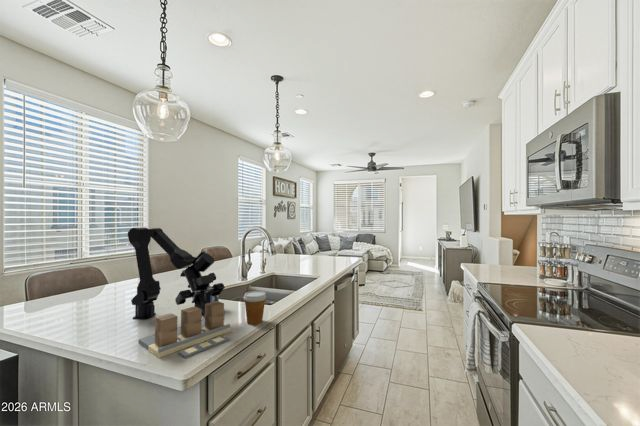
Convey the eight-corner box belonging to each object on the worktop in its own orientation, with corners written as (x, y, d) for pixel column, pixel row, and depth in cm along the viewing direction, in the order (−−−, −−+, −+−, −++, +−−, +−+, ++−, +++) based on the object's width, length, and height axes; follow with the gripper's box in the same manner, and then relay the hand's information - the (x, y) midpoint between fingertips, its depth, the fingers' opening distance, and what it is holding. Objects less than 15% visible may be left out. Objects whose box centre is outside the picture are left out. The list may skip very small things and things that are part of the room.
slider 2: (204, 327, 108) (205, 303, 108) (216, 323, 112) (216, 300, 112) (212, 330, 105) (212, 306, 105) (223, 326, 109) (224, 303, 109)
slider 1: (154, 343, 94) (155, 317, 94) (170, 338, 98) (170, 312, 98) (161, 348, 91) (161, 320, 91) (177, 342, 95) (177, 316, 95)
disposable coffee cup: (245, 318, 123) (245, 290, 123) (267, 317, 124) (267, 290, 124) (241, 326, 114) (241, 297, 114) (264, 326, 114) (265, 296, 115)
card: (178, 353, 91) (178, 351, 91) (222, 337, 104) (222, 335, 104) (185, 358, 88) (185, 355, 88) (229, 340, 101) (229, 338, 101)
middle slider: (180, 334, 101) (181, 309, 101) (194, 330, 105) (194, 306, 105) (187, 338, 98) (188, 312, 98) (201, 333, 102) (201, 309, 102)
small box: (206, 315, 126) (206, 292, 126) (193, 314, 127) (193, 291, 127) (219, 308, 136) (219, 286, 136) (207, 307, 138) (207, 285, 138)
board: (138, 343, 98) (138, 335, 98) (207, 321, 119) (207, 315, 119) (159, 357, 88) (159, 349, 88) (230, 331, 109) (230, 324, 109)
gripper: (179, 270, 107) (194, 305, 100) (222, 264, 122) (238, 294, 115) (169, 287, 111) (182, 322, 105) (212, 279, 126) (226, 309, 120)
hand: (209, 311), depth 111 cm, fingers closed
